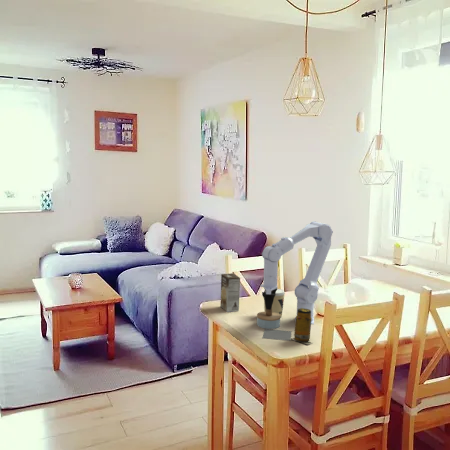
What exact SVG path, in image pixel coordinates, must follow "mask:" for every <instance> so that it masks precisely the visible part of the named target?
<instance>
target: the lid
mask: <svg viewBox="0 0 450 450" xmlns="http://www.w3.org/2000/svg"><path fill="white" fill-rule="evenodd" d="M257 318H259V319H261V320H266V321H275V320H279V319H280V320H281V319H282V317H281V315H280V314H278V313H275V312H272V308H271V310H268V309H266V312H265V311H260V312H258V313H256V319H257Z"/></svg>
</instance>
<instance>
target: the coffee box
mask: <svg viewBox="0 0 450 450" xmlns="http://www.w3.org/2000/svg"><path fill="white" fill-rule="evenodd" d="M220 276H221V279H220V308H222V309H223V311H225V312H226V313H231V312H232V313H233V312H239V311H240V292H241V291H240V289H241V277H240V276H238V275H236V274H235V273H233V272H232V273H222V274H221V275H220Z"/></svg>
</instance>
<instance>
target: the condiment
mask: <svg viewBox="0 0 450 450" xmlns="http://www.w3.org/2000/svg"><path fill="white" fill-rule="evenodd" d="M295 318H296V323H295V322H294V323H295V326H294V334H293V335H294V337H291V338H290V339H291V340H292V341H295V342H298V343H301V344H306V345H311V344H313V343H314V342H311V341H310V340H311V328H312V324H311V319H312V318H311V310H309V309H304V308H300V309H298V313H297V312H296V315H295ZM291 340H290V341H291Z"/></svg>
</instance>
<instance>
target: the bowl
mask: <svg viewBox="0 0 450 450" xmlns="http://www.w3.org/2000/svg"><path fill="white" fill-rule="evenodd" d="M256 325H257V326H258V327H259V328H262V329H273V330H275V329H278V328H280V326H281V318H280V319H279V320H275V321H266V320H261V319H259V318H257V317H256Z"/></svg>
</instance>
